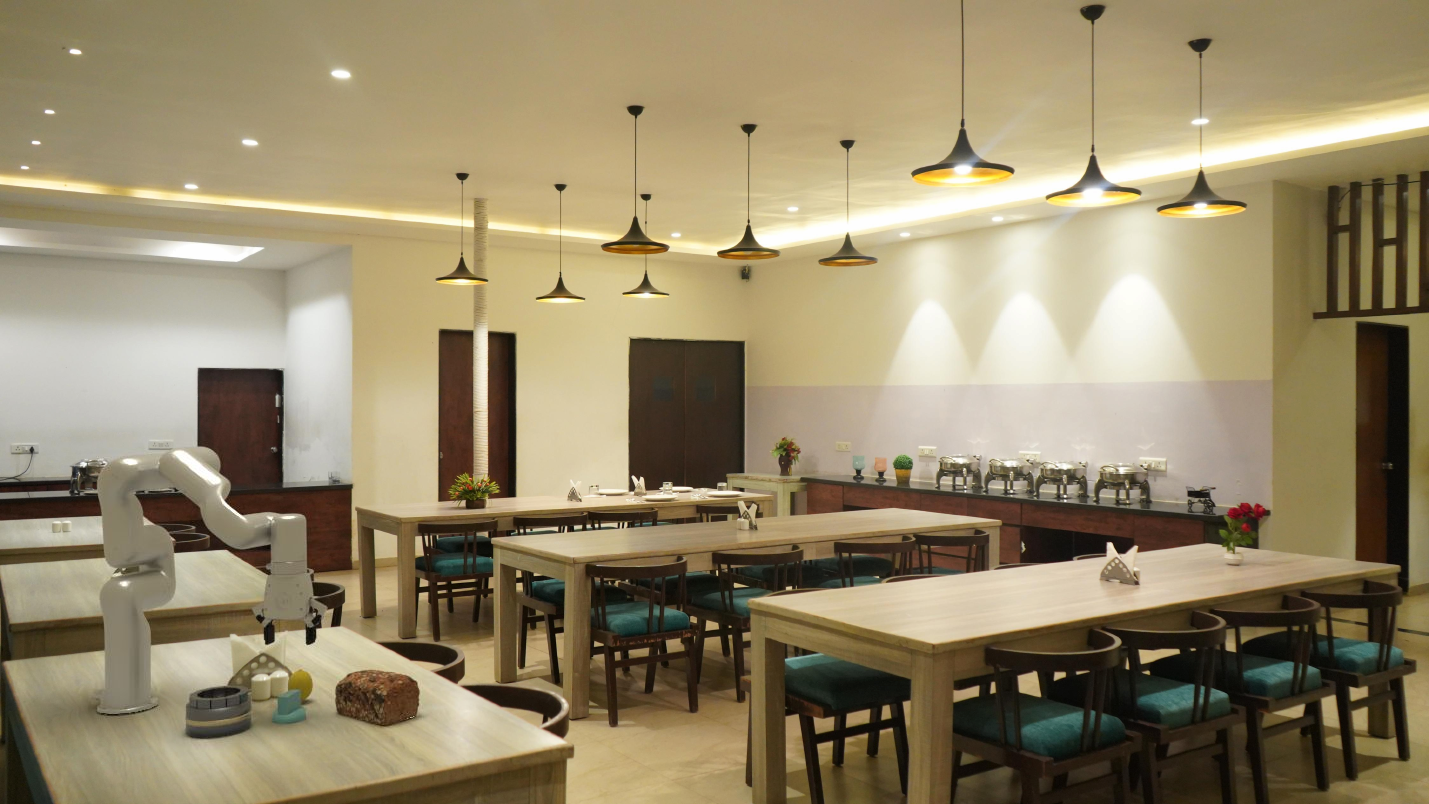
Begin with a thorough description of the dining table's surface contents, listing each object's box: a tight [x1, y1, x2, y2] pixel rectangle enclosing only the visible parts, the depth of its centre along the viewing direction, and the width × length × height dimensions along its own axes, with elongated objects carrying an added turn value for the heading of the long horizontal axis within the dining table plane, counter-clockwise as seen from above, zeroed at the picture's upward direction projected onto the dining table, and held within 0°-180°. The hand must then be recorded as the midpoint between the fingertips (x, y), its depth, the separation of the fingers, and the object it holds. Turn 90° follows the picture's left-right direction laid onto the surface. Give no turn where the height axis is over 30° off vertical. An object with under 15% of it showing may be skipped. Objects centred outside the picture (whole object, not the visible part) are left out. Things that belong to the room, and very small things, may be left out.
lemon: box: [287, 668, 314, 703], centre depth 247 cm, size 6×6×8 cm
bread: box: [334, 669, 421, 726], centre depth 236 cm, size 19×11×10 cm, turn 53°
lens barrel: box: [185, 685, 253, 739], centre depth 227 cm, size 13×13×8 cm
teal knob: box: [272, 690, 307, 725], centre depth 234 cm, size 7×7×6 cm
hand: (290, 643), depth 234 cm, fingers open, 9 cm apart
